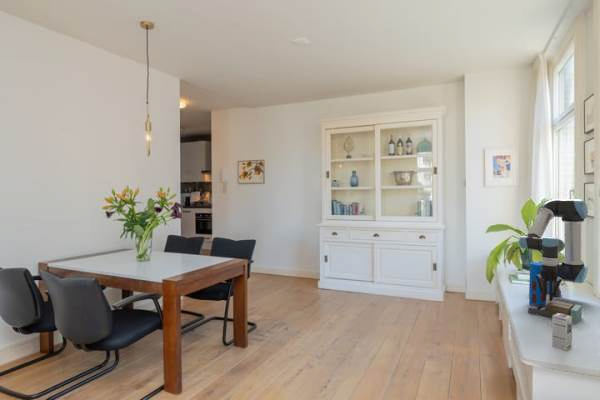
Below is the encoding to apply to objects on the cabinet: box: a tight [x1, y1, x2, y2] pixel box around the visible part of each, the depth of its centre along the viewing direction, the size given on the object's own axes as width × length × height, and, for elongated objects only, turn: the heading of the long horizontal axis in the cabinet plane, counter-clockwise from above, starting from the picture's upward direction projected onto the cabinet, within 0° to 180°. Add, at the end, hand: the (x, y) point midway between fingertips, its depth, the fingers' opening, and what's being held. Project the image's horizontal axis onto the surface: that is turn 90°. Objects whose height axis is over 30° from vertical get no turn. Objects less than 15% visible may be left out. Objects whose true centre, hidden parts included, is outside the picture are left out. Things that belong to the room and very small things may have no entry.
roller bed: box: [527, 304, 571, 319], centre depth 206 cm, size 11×20×3 cm, turn 43°
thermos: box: [528, 261, 550, 306], centre depth 225 cm, size 11×11×25 cm
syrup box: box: [551, 313, 573, 352], centre depth 164 cm, size 6×6×14 cm
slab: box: [547, 299, 575, 315], centre depth 203 cm, size 12×10×4 cm
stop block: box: [571, 304, 583, 325], centre depth 198 cm, size 13×3×7 cm, turn 133°
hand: (548, 306), depth 207 cm, fingers closed
